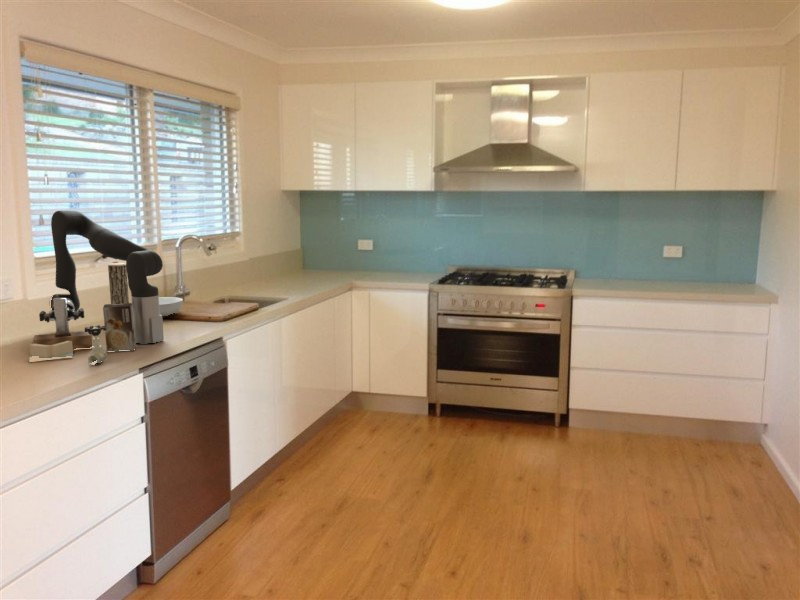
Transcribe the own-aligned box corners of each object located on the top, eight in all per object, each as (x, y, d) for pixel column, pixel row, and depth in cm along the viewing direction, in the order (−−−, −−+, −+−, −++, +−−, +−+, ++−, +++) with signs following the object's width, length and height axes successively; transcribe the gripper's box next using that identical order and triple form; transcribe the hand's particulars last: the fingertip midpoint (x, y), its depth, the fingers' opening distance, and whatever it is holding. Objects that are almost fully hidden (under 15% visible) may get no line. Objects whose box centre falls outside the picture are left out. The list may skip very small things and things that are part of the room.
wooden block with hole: (92, 344, 246) (91, 330, 245) (92, 349, 239) (91, 335, 238) (36, 349, 238) (34, 335, 238) (34, 354, 231) (33, 340, 230)
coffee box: (136, 347, 242) (133, 302, 239) (134, 351, 235) (131, 305, 233) (108, 348, 239) (104, 303, 236) (106, 353, 233) (102, 307, 230)
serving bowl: (191, 311, 306) (190, 296, 305) (171, 321, 285) (170, 305, 284) (147, 311, 308) (146, 296, 307) (124, 320, 287) (122, 304, 286)
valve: (112, 360, 223) (109, 325, 221) (104, 366, 217) (101, 329, 215) (91, 361, 223) (89, 325, 221) (83, 366, 216) (80, 329, 214)
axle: (73, 348, 240) (68, 297, 237) (64, 350, 236) (59, 299, 233) (64, 347, 241) (59, 297, 238) (55, 350, 237) (50, 299, 234)
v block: (31, 355, 230) (29, 342, 229) (73, 351, 235) (72, 338, 234) (28, 362, 221) (27, 349, 220) (73, 358, 226) (72, 345, 225)
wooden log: (111, 326, 275) (106, 265, 270) (113, 323, 281) (109, 263, 277) (129, 325, 276) (125, 264, 272) (131, 322, 283) (127, 262, 278)
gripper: (40, 301, 247) (37, 309, 233) (83, 299, 253) (83, 306, 239) (42, 322, 249) (39, 330, 234) (85, 318, 254) (85, 327, 240)
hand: (61, 318), depth 236 cm, fingers open, 8 cm apart
